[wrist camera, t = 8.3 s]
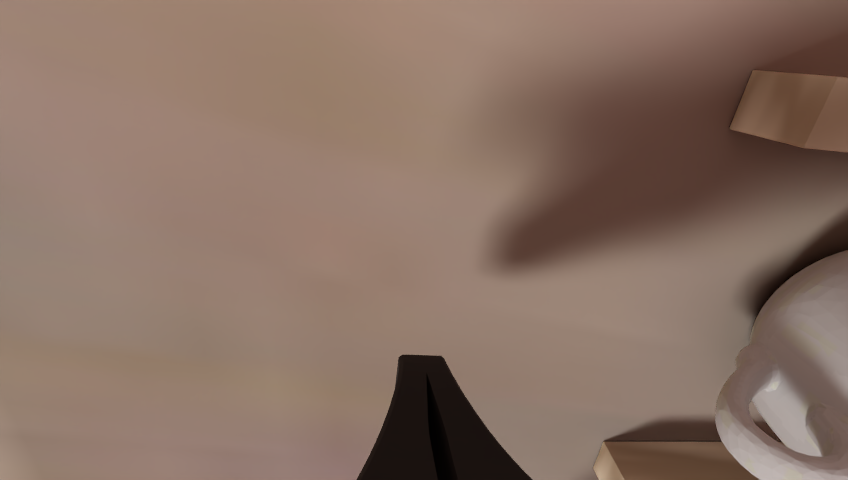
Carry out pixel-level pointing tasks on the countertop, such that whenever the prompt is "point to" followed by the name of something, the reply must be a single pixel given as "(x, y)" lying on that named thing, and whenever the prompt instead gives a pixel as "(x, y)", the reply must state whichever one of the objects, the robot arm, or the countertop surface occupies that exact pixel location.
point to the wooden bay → (776, 120)
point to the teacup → (794, 380)
